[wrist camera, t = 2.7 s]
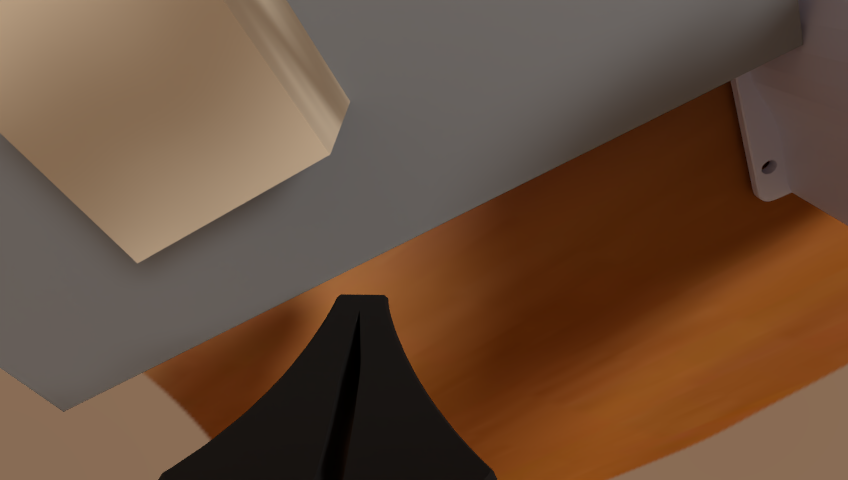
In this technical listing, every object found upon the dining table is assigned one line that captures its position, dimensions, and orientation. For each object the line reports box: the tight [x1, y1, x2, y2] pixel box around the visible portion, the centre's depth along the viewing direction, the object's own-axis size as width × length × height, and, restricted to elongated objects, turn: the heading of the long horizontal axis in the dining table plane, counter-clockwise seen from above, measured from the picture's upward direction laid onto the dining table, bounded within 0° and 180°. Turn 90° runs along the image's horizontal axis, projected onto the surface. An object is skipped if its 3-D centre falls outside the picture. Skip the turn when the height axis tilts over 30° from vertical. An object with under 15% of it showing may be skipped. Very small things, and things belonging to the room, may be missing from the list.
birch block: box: [0, 0, 350, 263], centre depth 10 cm, size 5×5×4 cm
